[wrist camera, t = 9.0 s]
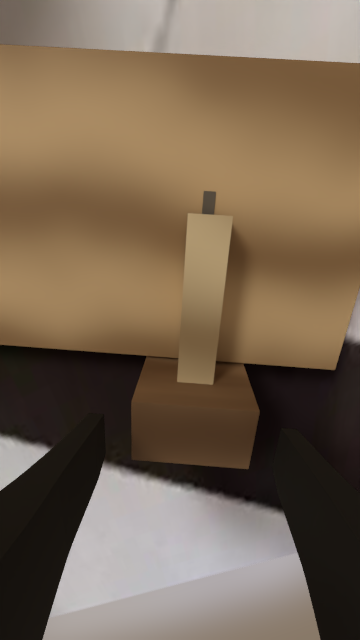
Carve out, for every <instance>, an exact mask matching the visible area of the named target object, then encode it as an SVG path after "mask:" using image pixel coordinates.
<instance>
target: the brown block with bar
mask: <svg viewBox="0 0 360 640" xmlns="http://www.w3.org/2000/svg"><path fill="white" fill-rule="evenodd" d="M232 221H233V216H225V215H209V214H193V213H188V219H187V234H186V250H185V266H184V281H183V297H182V312H181V328H180V344H179V358H170V357H157V356H147V357H146V360H145V363H144V366H143V369H142V372H141V375H140V378H139V381H138V384H137V387H136V390H135V393H134V396H133V399H132V402H131V413H132V460H142V461H155V462H167V463H179V464H191V465H204V466H216V467H228V468H240V469H249V464H250V459H251V454H252V449H253V444H254V438H255V433H256V428H257V423H258V418H259V413H260V411H259V408H258V405H257V402H256V399H255V396H254V393H253V390H252V387H251V385H250V382H249V379H248V376H247V373H246V370H245V367H244V364H243V363H236V362H223V361H216V356H217V347H218V339H219V330H220V322H221V314H222V305H223V297H224V288H225V280H226V271H227V263H228V255H229V246H230V238H231V229H232Z"/></svg>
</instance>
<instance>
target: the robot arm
mask: <svg viewBox="0 0 360 640" xmlns="http://www.w3.org/2000/svg"><path fill="white" fill-rule="evenodd" d="M105 453H106V451H105V429H104V414H93V413H89V414H88V415H86V416H85V417H84V418H83V419H82V420H81V421H80V422H79V423H78V424H77V425H76V426H75V427H74V428H73V429H72V430H71V431H70V432H69V433H68V434H67V435H66V436H65V437H64V438H63V439H62V440H61V441H60V442H58V443H57V444H56V445H55V446H54V447H53V448H52V449H51V450H50V451H49V452H48V453H46V454H45V455H44V456H43V457H42V458H41V459H40V460H38V461H37V462H36V463H35V464H34V465H32V466H31V467H30V468H29V469H28V470H27V471H25V472H24V473H23V474H22V475H20V476H19V477H18V478H17V479H15V480H14V481H13V482H11V483H10V484H9V485H7V486H6V487H5V488H3V489H2V490H1V491H0V640H42V639H43V635H44V632H45V628H46V625H47V622H48V618H49V615H50V612H51V608H52V605H53V602H54V599H55V595H56V592H57V589H58V585H59V582H60V579H61V576H62V573H63V570H64V566H65V563H66V560H67V557H68V554H69V551H70V549H71V546H72V543H73V540H74V538H75V536H76V533H77V531H78V528H79V526H80V523H81V521H82V518H83V516H84V513H85V511H86V508H87V506H88V503H89V501H90V499H91V496H92V494H93V491H94V489H95V486H96V483H97V481H98V478H99V475H100V471H101V468H102V464H103V461H104V457H105ZM272 468H273V473H274V478H275V483H276V487H277V491H278V495H279V498H280V501H281V504H282V507H283V510H284V513H285V516H286V519H287V522H288V525H289V528H290V531H291V534H292V537H293V540H294V543H295V546H296V549H297V552H298V555H299V558H300V561H301V564H302V567H303V571H304V574H305V577H306V581H307V585H308V589H309V593H310V597H311V601H312V605H313V609H314V613H315V618H316V621H317V626H318V630H319V635H320V639H321V640H360V493H359V492H358V491H356V490H355V489H354V488H353V487H352V486H351V485H350V484H349V483H348V482H347V481H346V480H345V479H344V478H343V477H342V476H341V475H340V474H339V473H338V472H337V471H336V470H335V469H334V468H333V467H332V466H331V465H330V464H329V463H328V462H327V461H326V460H325V459H324V458H323V457H322V456H321V455H320V454H319V452H318V451H317V450H316V449H315V448H314V447H313V446H312V445H311V444H310V443H309V442H308V441H307V440H306V439H305V438H304V437H303V435H302V434H301V433H300V432H299V431H298V430H297V429H286V428H281V431H280V435H279V440H278V444H277V448H276V452H275V456H274V461H273V465H272Z"/></svg>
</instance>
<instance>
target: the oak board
mask: <svg viewBox="0 0 360 640" xmlns="http://www.w3.org/2000/svg"><path fill="white" fill-rule="evenodd" d="M188 213H193V214H209V215H225V216H233V221H232V229H231V238H230V246H229V255H228V263H227V271H226V280H225V288H224V297H223V305H222V314H221V322H220V330H219V339H218V347H217V356H216V361H223V362H236V363H249V364H262V365H276V366H289V367H302V368H315V369H328V370H335V368H336V365H337V361H338V358H339V355H340V351H341V348H342V345H343V341H344V338H345V335H346V331H347V328H348V325H349V321H350V318H351V315H352V311H353V308H354V305H355V301H356V298H357V294H358V291H359V288H360V63H343V62H324V61H305V60H286V59H267V58H248V57H230V56H211V55H192V54H173V53H154V52H135V51H116V50H98V49H79V48H60V47H41V46H22V45H3V44H0V345H12V346H25V347H38V348H51V349H64V350H78V351H91V352H104V353H117V354H130V355H144V356H157V357H170V358H179V344H180V328H181V312H182V297H183V281H184V266H185V250H186V234H187V219H188Z"/></svg>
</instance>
